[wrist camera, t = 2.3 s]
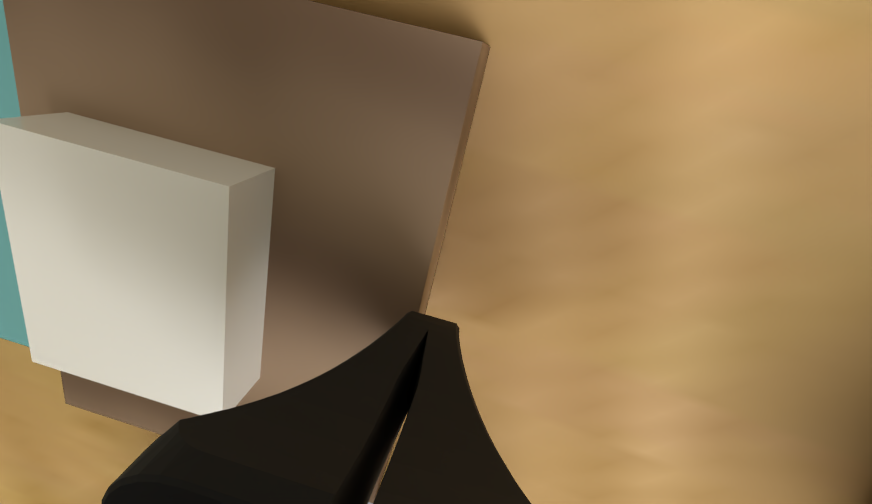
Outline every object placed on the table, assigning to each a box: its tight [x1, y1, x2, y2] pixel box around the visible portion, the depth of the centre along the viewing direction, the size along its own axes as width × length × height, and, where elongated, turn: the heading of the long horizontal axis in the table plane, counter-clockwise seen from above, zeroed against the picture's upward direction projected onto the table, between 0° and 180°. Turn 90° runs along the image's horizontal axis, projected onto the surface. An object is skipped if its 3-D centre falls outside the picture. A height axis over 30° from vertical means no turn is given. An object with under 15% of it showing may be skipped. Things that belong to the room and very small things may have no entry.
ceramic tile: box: [0, 112, 275, 415], centre depth 12 cm, size 7×6×2 cm
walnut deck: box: [3, 0, 490, 503], centre depth 14 cm, size 15×12×2 cm
